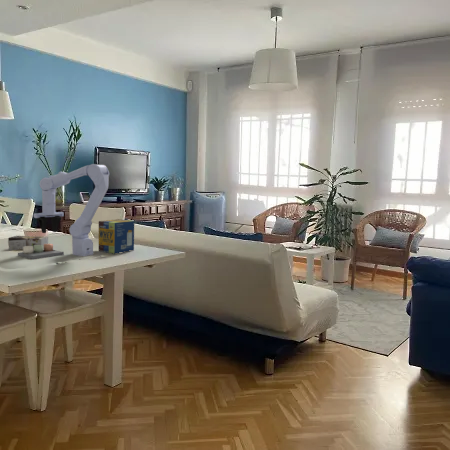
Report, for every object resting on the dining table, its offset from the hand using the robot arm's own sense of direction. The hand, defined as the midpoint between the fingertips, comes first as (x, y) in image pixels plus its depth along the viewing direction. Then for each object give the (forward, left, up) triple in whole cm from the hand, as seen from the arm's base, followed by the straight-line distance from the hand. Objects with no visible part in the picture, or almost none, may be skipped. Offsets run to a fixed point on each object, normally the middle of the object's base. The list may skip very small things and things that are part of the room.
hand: (49, 232), depth 213 cm
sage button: (-3, +8, -8) cm, 11 cm away
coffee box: (+11, -5, -7) cm, 14 cm away
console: (-5, +8, -10) cm, 14 cm away
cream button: (-3, +13, -8) cm, 15 cm away
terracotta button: (-3, +3, -8) cm, 9 cm away
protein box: (-15, -28, -11) cm, 34 cm away
